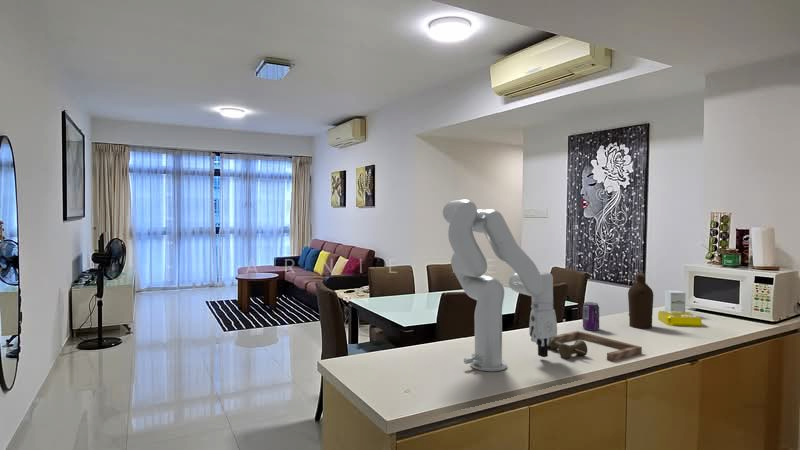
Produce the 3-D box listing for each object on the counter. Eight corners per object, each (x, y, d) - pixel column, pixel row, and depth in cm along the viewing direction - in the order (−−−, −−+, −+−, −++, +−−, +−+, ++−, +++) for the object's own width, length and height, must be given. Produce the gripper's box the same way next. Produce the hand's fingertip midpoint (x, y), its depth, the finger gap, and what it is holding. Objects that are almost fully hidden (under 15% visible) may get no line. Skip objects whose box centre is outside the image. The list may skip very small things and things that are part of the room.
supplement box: (670, 316, 236) (670, 292, 236) (664, 313, 243) (664, 290, 243) (685, 317, 235) (685, 292, 234) (679, 313, 242) (679, 290, 242)
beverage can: (600, 331, 207) (600, 305, 207) (584, 330, 208) (584, 304, 208) (597, 327, 214) (597, 302, 214) (581, 327, 215) (581, 301, 215)
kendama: (556, 347, 185) (596, 359, 167) (537, 351, 181) (576, 364, 163) (555, 332, 185) (595, 343, 167) (537, 335, 181) (575, 347, 163)
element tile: (689, 320, 228) (689, 310, 228) (703, 327, 214) (703, 317, 214) (656, 319, 231) (656, 310, 231) (668, 326, 217) (668, 316, 216)
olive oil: (658, 328, 211) (658, 274, 211) (638, 329, 209) (638, 275, 209) (643, 323, 221) (642, 272, 221) (623, 324, 220) (623, 272, 219)
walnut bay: (611, 361, 164) (611, 354, 164) (548, 342, 189) (548, 336, 189) (641, 353, 173) (641, 346, 173) (577, 336, 198) (577, 330, 198)
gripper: (535, 310, 160) (536, 362, 160) (564, 305, 167) (565, 355, 168) (519, 306, 166) (520, 356, 167) (548, 302, 174) (549, 350, 174)
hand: (542, 355), depth 167 cm, fingers closed
